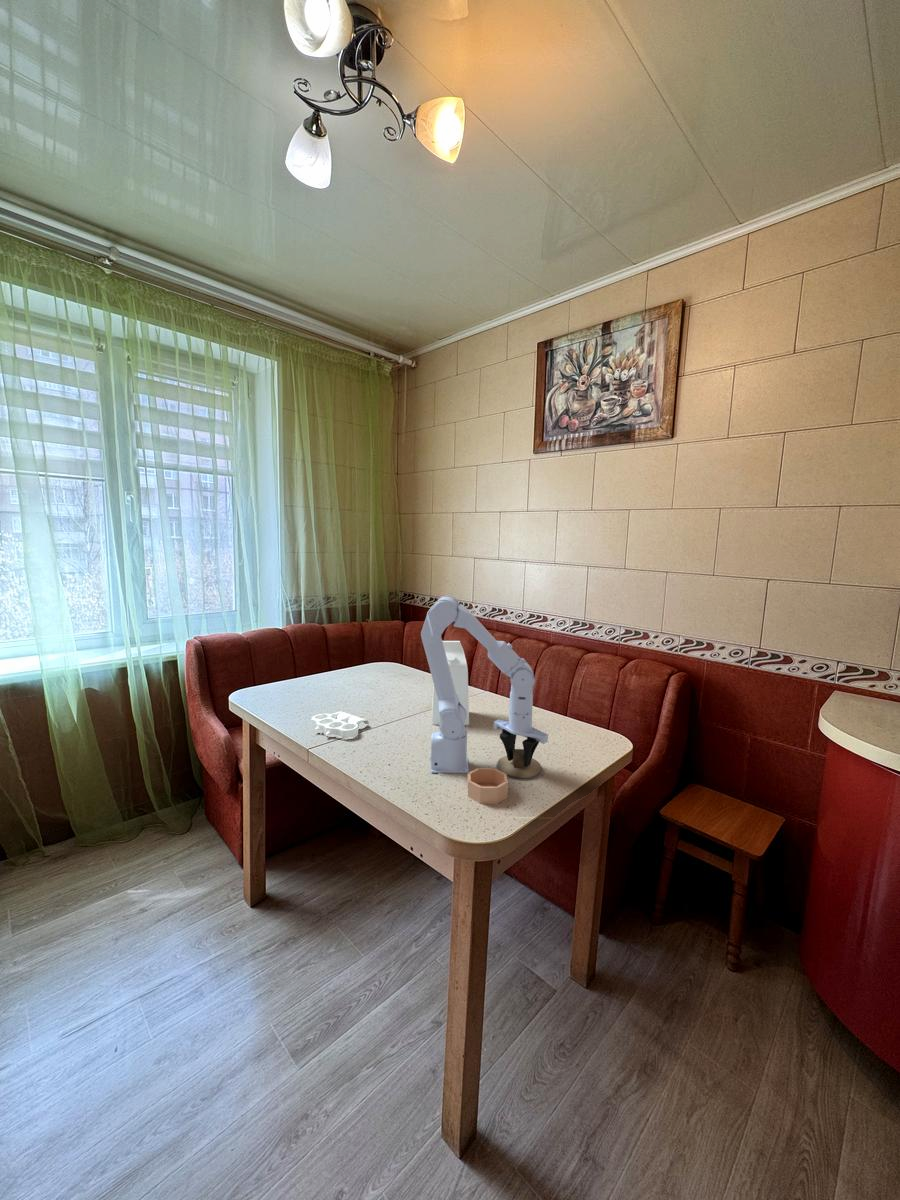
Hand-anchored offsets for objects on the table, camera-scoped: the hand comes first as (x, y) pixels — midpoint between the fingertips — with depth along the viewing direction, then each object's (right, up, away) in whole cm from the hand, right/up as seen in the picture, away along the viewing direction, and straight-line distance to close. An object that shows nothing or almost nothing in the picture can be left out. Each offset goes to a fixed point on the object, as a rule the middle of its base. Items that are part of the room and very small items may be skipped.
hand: (519, 762), depth 115 cm
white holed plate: (-52, +1, +25) cm, 58 cm away
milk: (-18, +2, +35) cm, 39 cm away
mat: (0, -2, 0) cm, 2 cm away
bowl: (-9, -3, -11) cm, 15 cm away
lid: (0, -2, 0) cm, 2 cm away
